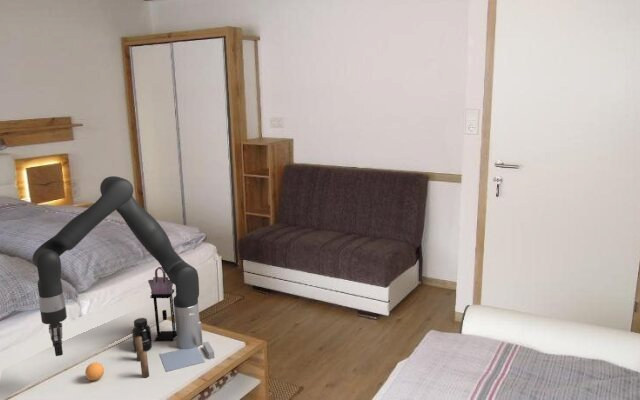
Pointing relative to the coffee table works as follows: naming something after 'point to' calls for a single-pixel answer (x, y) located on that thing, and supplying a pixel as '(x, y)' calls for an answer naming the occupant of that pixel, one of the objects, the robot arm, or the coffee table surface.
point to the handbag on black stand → (162, 289)
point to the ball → (94, 371)
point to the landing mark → (181, 358)
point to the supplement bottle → (142, 333)
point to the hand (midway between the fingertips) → (59, 354)
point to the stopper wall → (208, 350)
